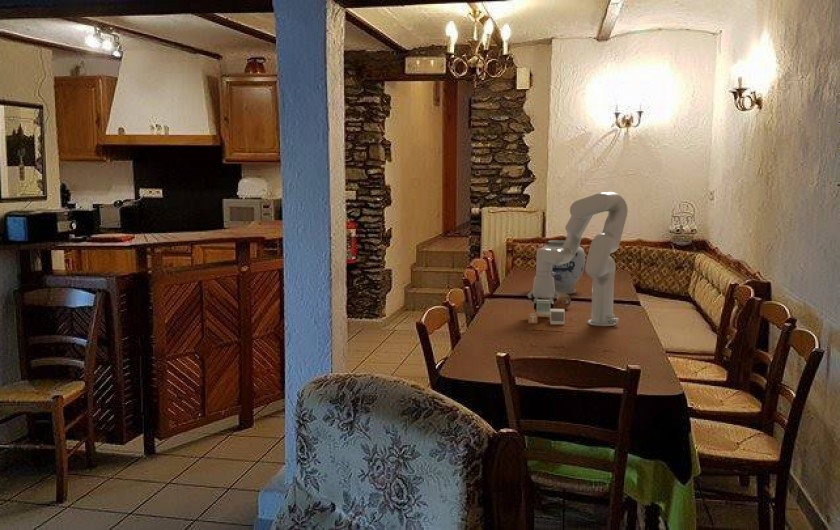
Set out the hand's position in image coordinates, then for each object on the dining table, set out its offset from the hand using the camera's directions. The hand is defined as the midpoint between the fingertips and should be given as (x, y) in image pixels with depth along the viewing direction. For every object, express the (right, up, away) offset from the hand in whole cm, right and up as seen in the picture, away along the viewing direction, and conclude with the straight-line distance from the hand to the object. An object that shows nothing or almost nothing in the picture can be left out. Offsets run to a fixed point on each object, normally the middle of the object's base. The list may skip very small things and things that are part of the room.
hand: (543, 310), depth 353 cm
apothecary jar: (+23, +6, +78) cm, 81 cm away
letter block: (-7, -5, -11) cm, 14 cm away
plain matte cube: (0, -1, 0) cm, 1 cm away
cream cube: (+4, -5, -13) cm, 15 cm away
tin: (+10, 0, +24) cm, 26 cm away
